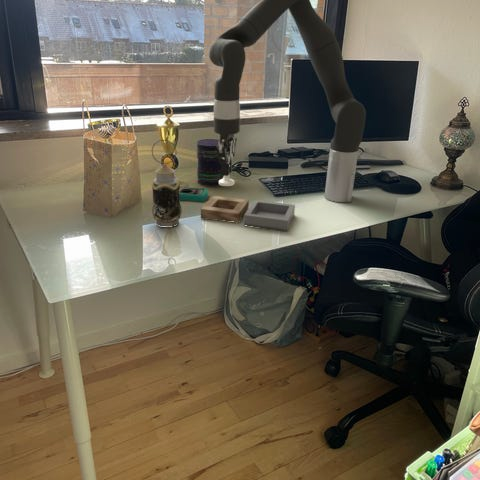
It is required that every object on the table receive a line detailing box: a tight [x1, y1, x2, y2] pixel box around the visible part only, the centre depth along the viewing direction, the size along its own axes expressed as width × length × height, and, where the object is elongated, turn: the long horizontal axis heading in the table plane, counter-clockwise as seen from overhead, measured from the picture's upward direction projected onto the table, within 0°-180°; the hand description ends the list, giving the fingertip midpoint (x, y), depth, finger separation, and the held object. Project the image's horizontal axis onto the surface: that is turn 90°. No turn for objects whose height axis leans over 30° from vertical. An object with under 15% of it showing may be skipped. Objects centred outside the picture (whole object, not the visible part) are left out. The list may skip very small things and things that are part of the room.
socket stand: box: [200, 195, 250, 223], centre depth 144 cm, size 12×12×3 cm
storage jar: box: [196, 138, 224, 187], centre depth 168 cm, size 10×10×15 cm
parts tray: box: [243, 199, 296, 233], centre depth 139 cm, size 13×13×4 cm
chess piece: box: [219, 152, 235, 187], centre depth 138 cm, size 5×5×10 cm
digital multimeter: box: [179, 186, 209, 203], centre depth 156 cm, size 7×15×3 cm, turn 84°
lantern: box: [151, 139, 183, 226], centre depth 131 cm, size 9×8×25 cm
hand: (226, 173), depth 139 cm, fingers closed on chess piece
